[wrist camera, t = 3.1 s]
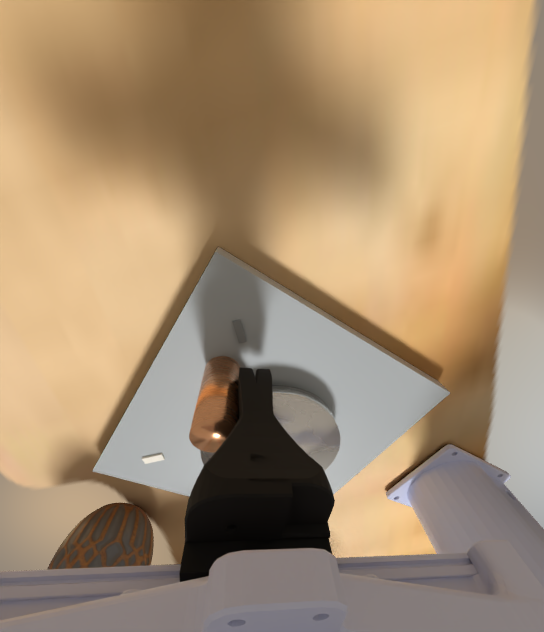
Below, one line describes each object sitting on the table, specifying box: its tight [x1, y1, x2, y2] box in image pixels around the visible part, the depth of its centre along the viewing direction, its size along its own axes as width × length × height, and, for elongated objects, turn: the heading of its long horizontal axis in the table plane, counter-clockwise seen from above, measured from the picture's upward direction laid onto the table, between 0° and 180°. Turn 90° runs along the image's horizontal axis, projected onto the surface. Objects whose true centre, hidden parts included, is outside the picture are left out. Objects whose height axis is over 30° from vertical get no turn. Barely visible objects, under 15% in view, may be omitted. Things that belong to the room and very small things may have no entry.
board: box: [93, 247, 450, 497], centre depth 18 cm, size 18×18×1 cm
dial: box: [189, 356, 341, 471], centre depth 15 cm, size 12×9×4 cm
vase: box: [47, 503, 153, 570], centre depth 18 cm, size 7×7×9 cm
